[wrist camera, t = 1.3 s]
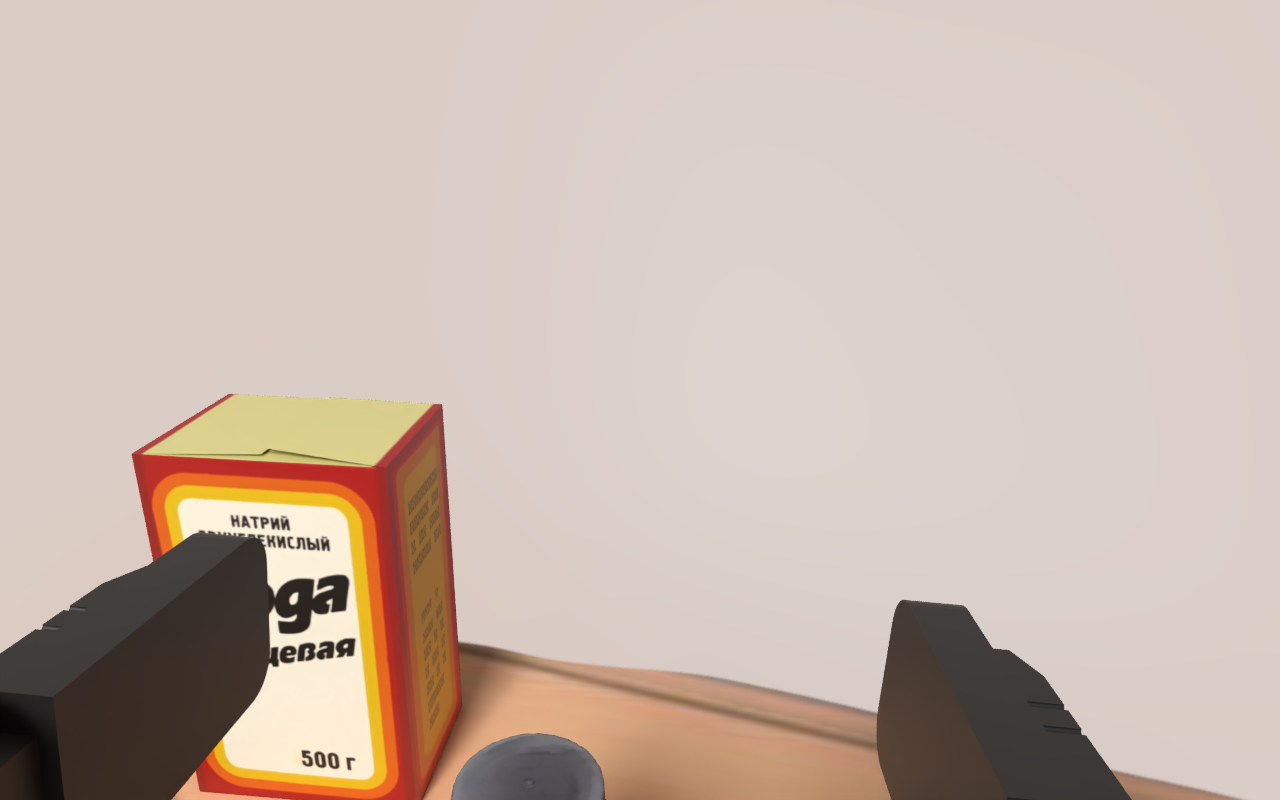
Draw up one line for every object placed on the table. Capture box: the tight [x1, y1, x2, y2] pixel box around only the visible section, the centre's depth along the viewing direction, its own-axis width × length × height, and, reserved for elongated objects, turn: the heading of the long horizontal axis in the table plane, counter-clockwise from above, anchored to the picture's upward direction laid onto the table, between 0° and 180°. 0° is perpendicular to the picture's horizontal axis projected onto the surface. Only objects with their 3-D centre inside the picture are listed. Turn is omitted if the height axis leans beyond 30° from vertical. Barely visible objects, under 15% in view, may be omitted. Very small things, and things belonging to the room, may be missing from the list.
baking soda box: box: [132, 394, 462, 800], centre depth 36 cm, size 10×6×16 cm
